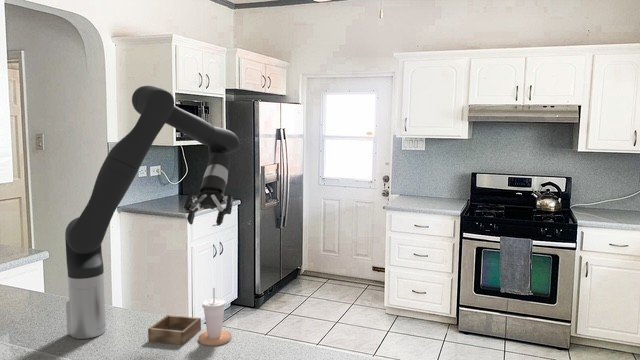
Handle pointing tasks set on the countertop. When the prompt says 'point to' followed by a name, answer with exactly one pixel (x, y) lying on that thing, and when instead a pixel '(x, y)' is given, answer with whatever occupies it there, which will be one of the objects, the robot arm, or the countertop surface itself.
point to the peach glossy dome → (221, 340)
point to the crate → (173, 336)
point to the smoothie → (214, 316)
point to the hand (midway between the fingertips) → (204, 223)
